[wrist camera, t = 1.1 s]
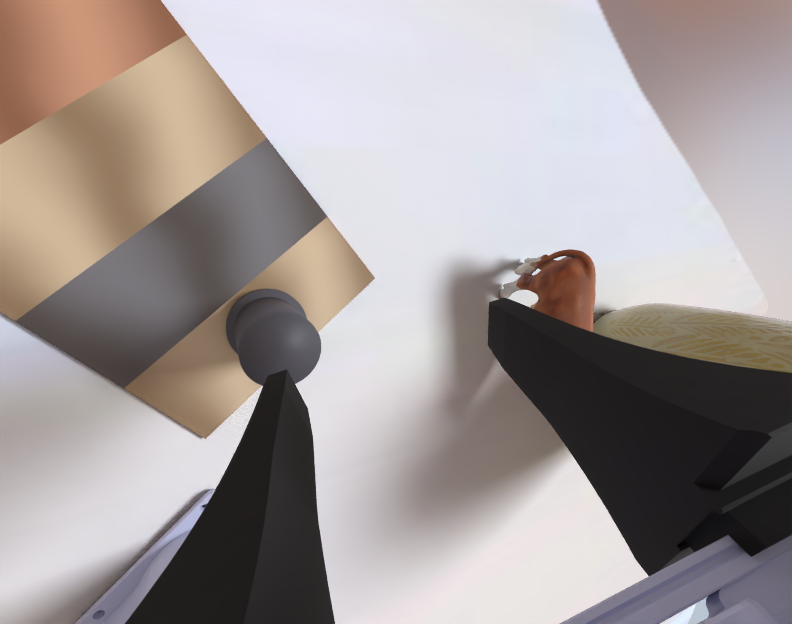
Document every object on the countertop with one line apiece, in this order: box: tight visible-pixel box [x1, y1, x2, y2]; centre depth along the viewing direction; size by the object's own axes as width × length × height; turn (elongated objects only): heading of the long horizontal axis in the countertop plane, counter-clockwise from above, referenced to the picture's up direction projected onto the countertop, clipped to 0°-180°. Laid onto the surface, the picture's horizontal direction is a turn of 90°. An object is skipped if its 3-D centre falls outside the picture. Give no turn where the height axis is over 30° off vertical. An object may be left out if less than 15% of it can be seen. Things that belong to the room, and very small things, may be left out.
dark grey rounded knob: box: [226, 289, 321, 386], centre depth 17 cm, size 4×4×5 cm
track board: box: [0, 0, 375, 439], centre depth 15 cm, size 14×20×1 cm
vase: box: [593, 303, 792, 373], centre depth 27 cm, size 17×17×27 cm
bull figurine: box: [499, 250, 595, 332], centre depth 26 cm, size 4×13×8 cm, turn 3°
